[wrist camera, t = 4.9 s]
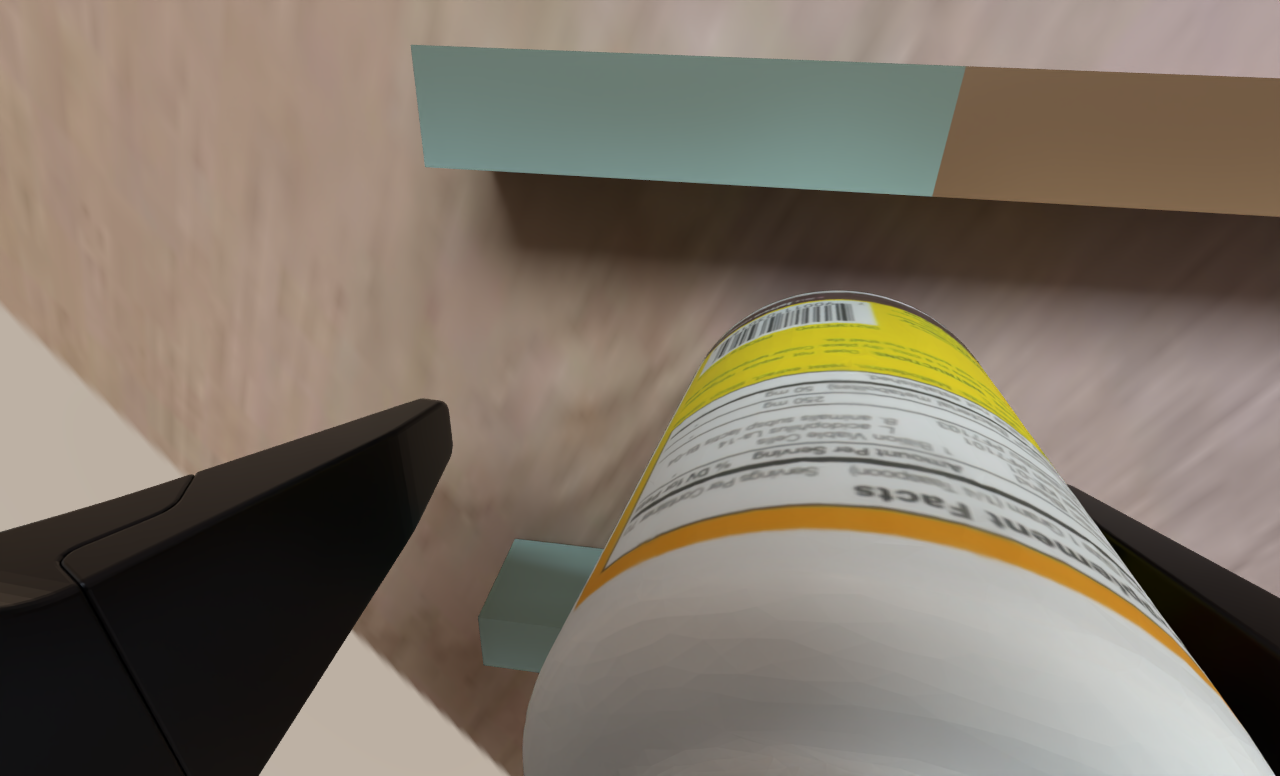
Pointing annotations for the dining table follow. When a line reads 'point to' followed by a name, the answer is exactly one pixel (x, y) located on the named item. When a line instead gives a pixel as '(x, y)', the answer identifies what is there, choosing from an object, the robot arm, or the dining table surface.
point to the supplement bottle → (864, 585)
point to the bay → (830, 167)
